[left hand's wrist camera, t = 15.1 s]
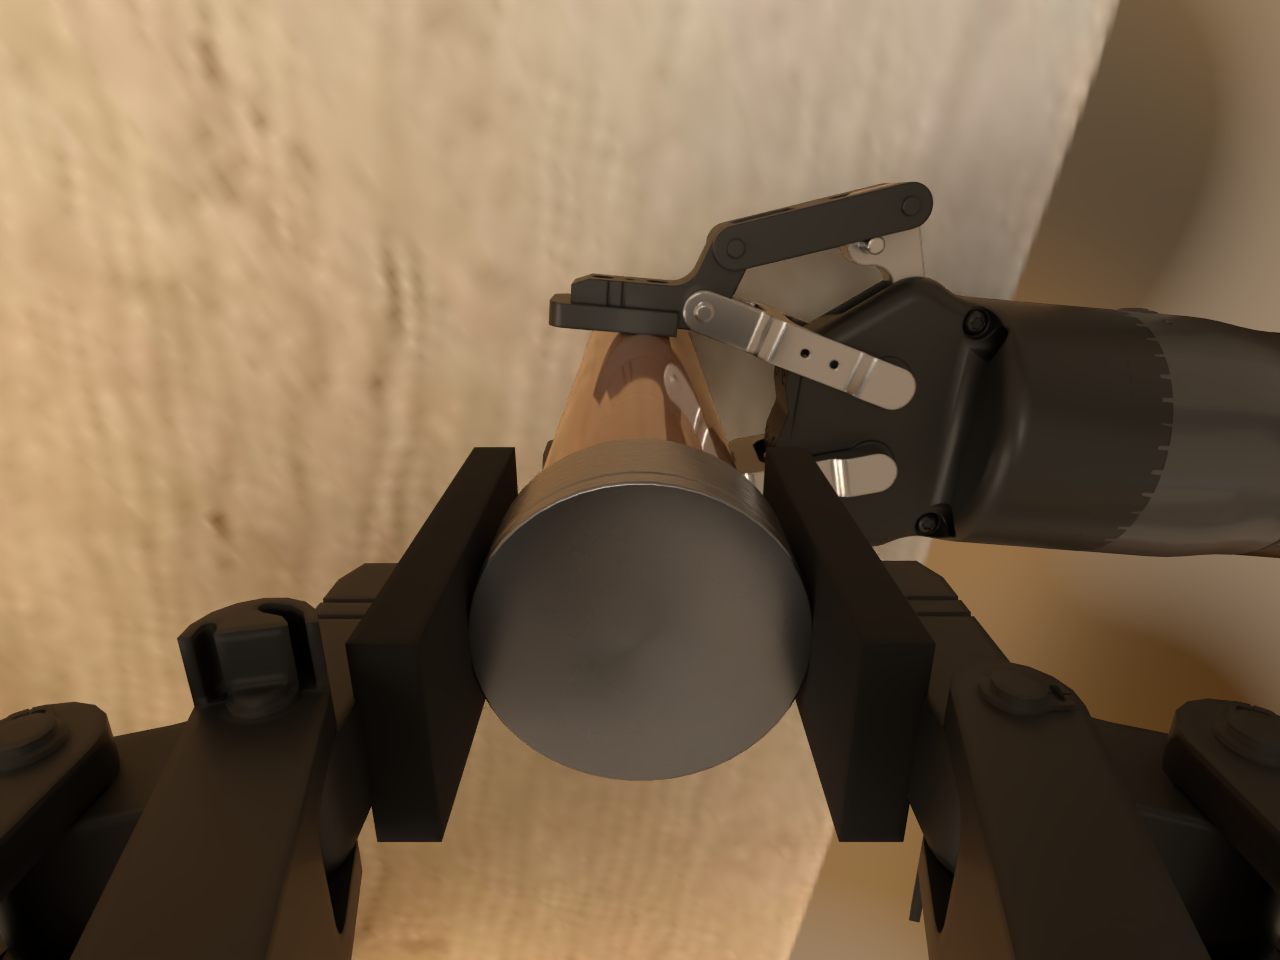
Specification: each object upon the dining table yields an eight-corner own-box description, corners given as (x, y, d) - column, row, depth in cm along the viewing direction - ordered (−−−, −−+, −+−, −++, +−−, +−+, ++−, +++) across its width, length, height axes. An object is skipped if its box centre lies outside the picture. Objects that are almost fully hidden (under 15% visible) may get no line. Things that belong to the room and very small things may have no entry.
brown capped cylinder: (576, 391, 29) (476, 701, 11) (601, 288, 28) (530, 456, 10) (676, 417, 30) (733, 755, 12) (705, 316, 28) (820, 526, 10)
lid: (725, 733, 13) (739, 815, 11) (459, 659, 12) (430, 732, 11) (838, 493, 11) (873, 545, 10) (538, 395, 11) (518, 433, 9)
